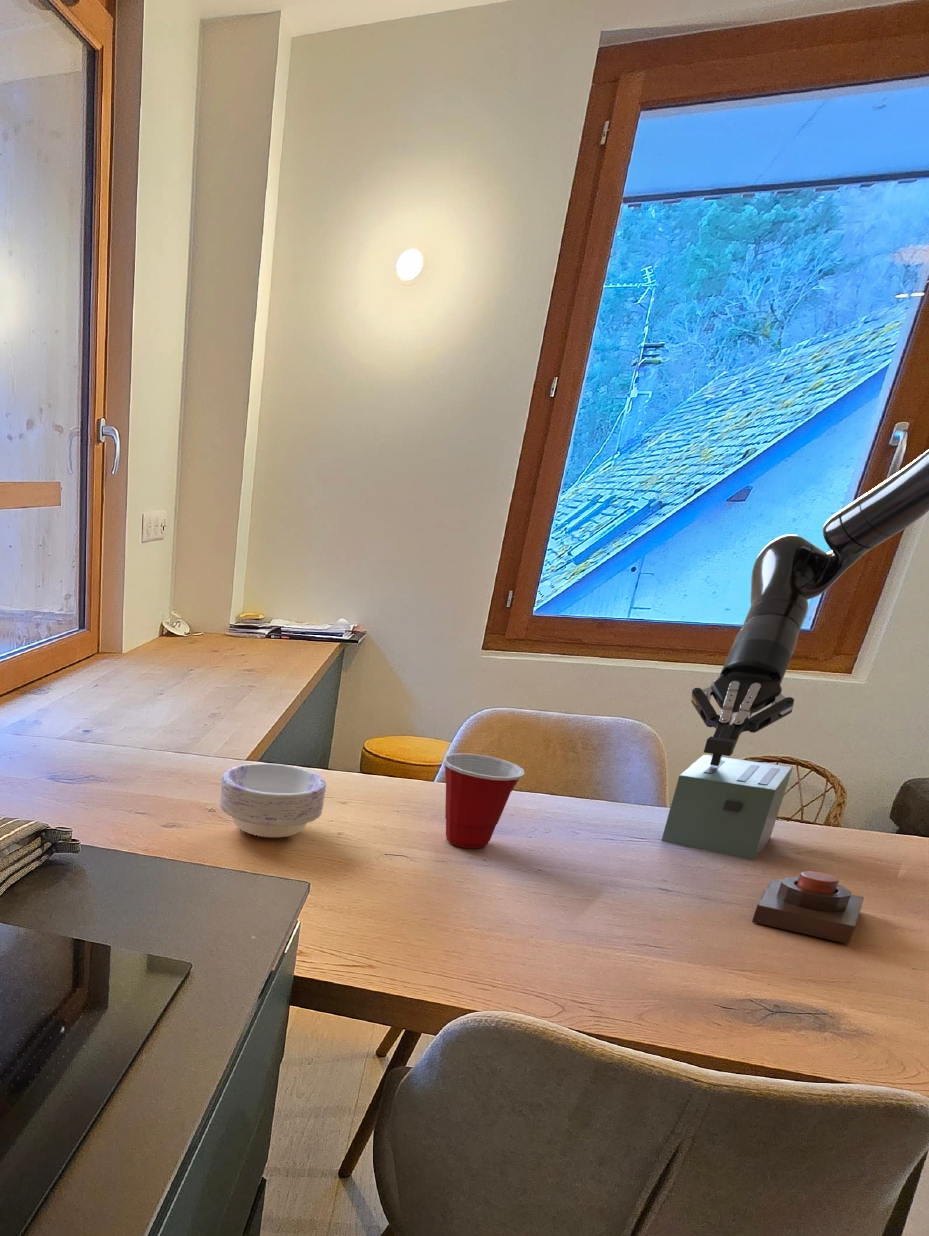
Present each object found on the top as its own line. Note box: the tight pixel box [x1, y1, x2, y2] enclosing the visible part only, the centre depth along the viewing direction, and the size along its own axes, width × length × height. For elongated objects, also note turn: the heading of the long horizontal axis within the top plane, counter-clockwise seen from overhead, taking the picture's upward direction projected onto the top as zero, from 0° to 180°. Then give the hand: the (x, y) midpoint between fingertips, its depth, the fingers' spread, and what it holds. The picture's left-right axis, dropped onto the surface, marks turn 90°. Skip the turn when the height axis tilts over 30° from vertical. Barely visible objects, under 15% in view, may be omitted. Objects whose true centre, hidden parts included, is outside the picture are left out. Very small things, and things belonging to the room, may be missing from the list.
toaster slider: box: [703, 736, 738, 766], centre depth 132 cm, size 2×3×4 cm
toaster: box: [660, 754, 793, 861], centre depth 133 cm, size 18×11×11 cm, turn 137°
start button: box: [796, 870, 840, 894], centre depth 109 cm, size 4×4×2 cm
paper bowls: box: [219, 762, 327, 838], centre depth 139 cm, size 15×15×8 cm
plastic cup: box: [443, 752, 526, 849], centre depth 133 cm, size 11×11×12 cm
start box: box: [751, 876, 865, 945], centre depth 110 cm, size 12×9×4 cm
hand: (720, 749), depth 133 cm, fingers closed
